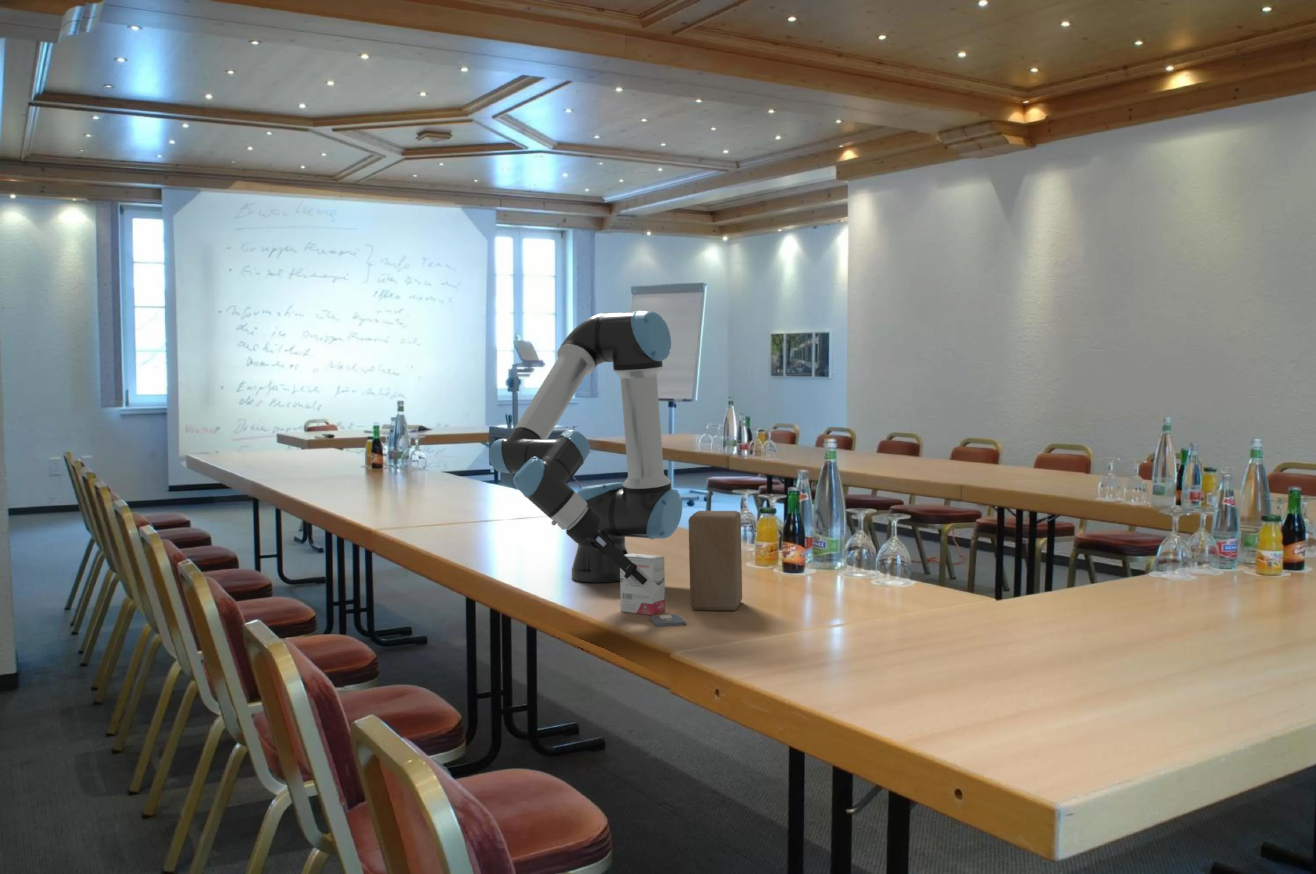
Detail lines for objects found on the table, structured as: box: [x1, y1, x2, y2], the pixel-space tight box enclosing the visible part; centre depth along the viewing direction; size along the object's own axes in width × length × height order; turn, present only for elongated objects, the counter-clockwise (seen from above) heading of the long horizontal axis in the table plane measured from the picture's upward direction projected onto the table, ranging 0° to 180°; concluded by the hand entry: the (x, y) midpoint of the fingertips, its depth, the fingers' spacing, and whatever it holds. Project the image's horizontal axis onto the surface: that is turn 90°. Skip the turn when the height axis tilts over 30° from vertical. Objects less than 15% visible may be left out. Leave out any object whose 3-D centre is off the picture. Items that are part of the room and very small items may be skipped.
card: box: [648, 613, 687, 628], centre depth 213 cm, size 7×6×1 cm
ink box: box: [619, 553, 666, 616], centre depth 223 cm, size 9×5×12 cm, turn 58°
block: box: [688, 510, 743, 612], centre depth 226 cm, size 10×10×20 cm
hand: (649, 586), depth 223 cm, fingers open, 13 cm apart
